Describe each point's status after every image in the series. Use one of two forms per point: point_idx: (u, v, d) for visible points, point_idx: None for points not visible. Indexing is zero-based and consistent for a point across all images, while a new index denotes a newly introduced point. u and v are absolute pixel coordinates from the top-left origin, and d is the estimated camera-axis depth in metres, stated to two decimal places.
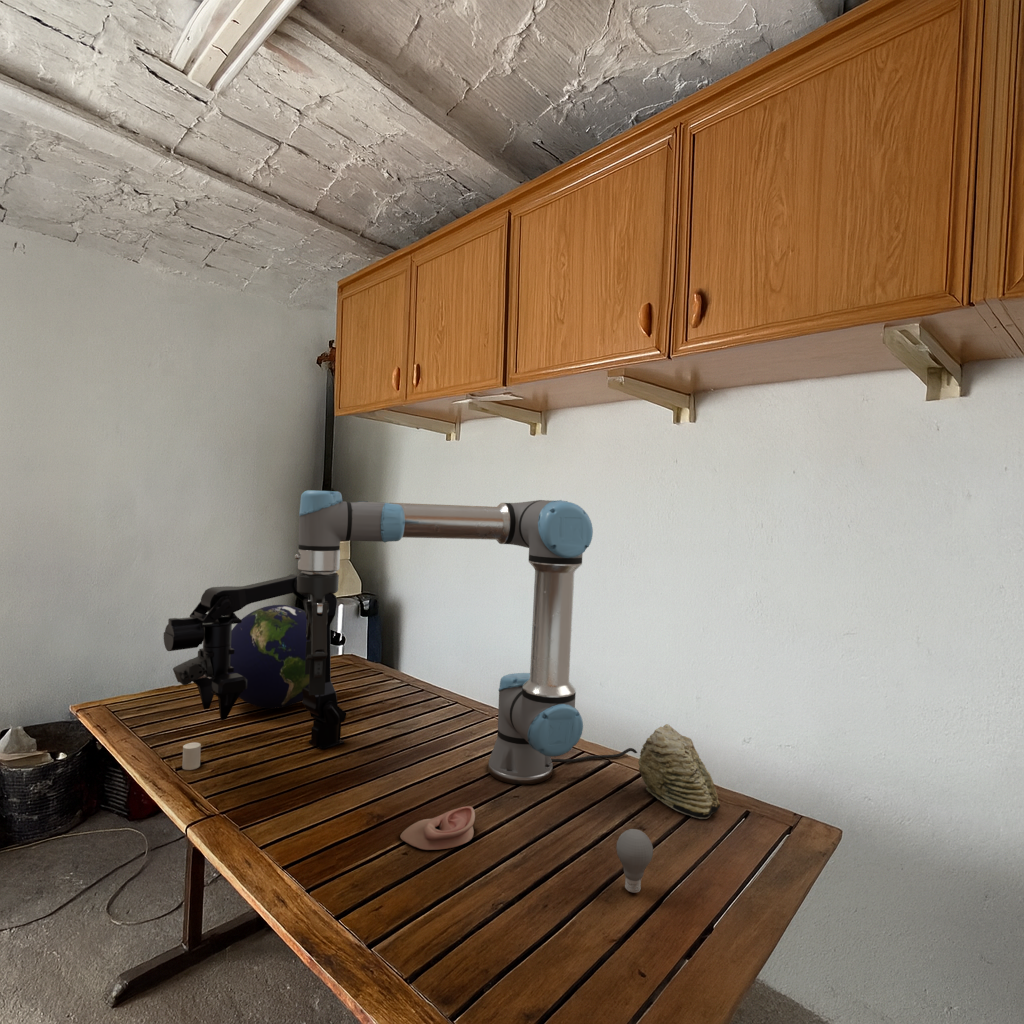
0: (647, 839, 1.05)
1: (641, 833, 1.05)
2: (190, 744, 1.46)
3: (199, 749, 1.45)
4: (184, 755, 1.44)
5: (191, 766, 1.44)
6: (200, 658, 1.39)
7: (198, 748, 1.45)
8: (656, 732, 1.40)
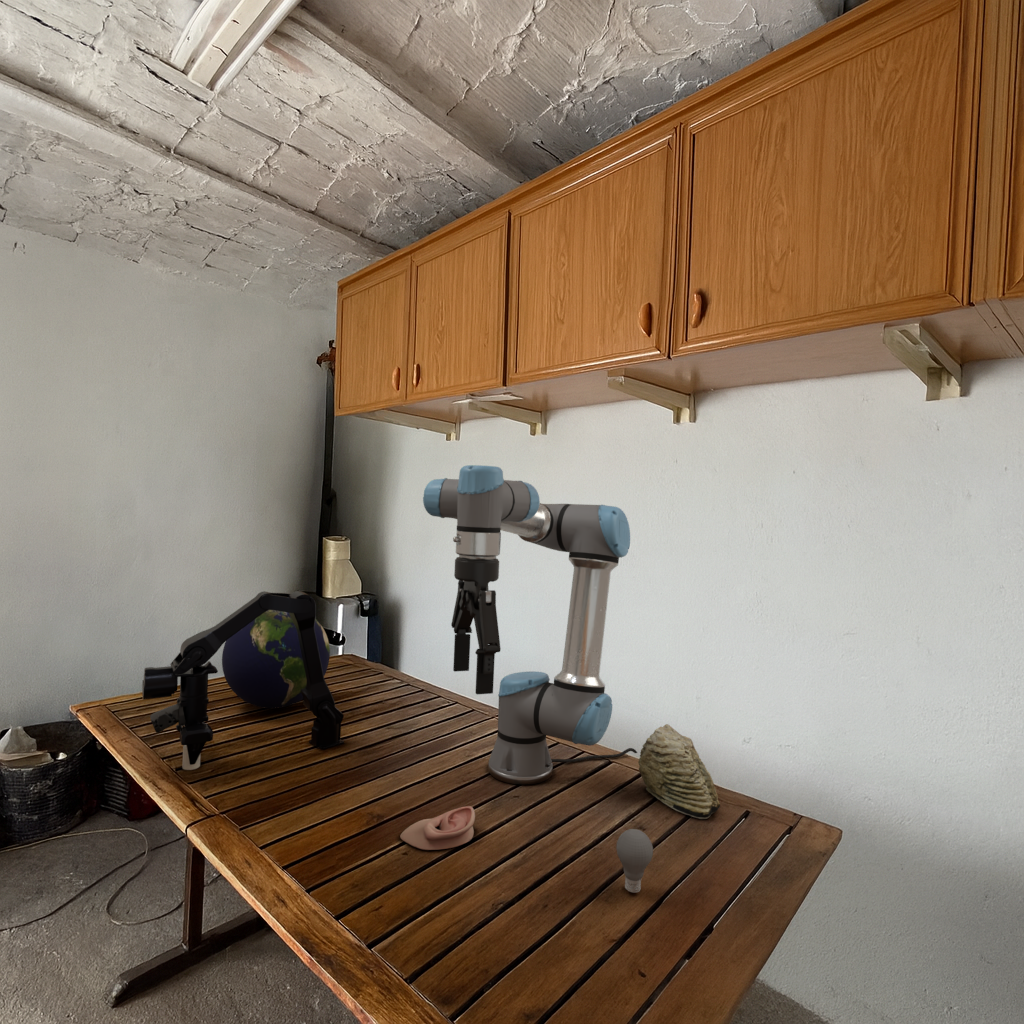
0: (647, 839, 1.05)
1: (641, 833, 1.05)
2: None
3: None
4: (184, 755, 1.44)
5: (191, 766, 1.44)
6: (176, 706, 1.43)
7: None
8: (656, 732, 1.40)
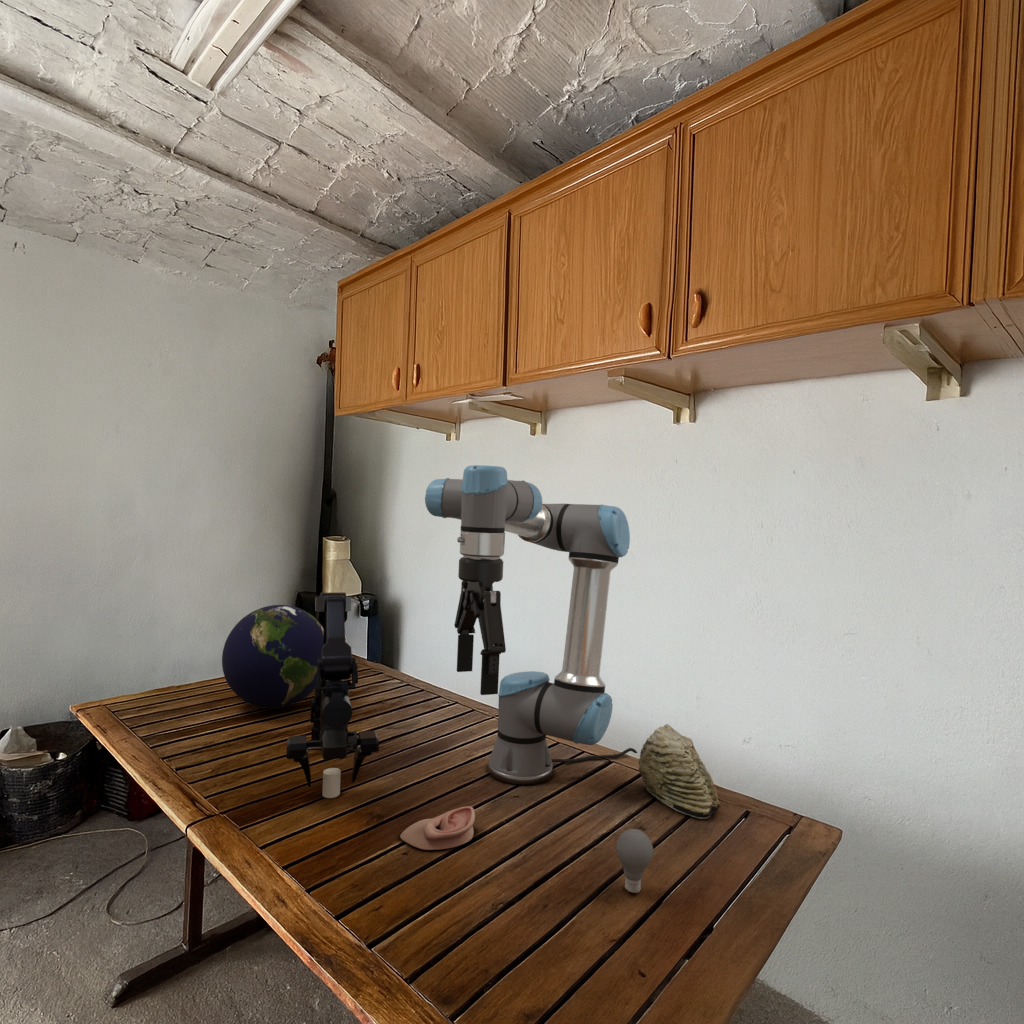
0: (647, 839, 1.05)
1: (641, 833, 1.05)
2: (328, 772, 1.35)
3: None
4: (336, 782, 1.34)
5: (339, 790, 1.36)
6: (334, 729, 1.32)
7: None
8: (656, 732, 1.40)
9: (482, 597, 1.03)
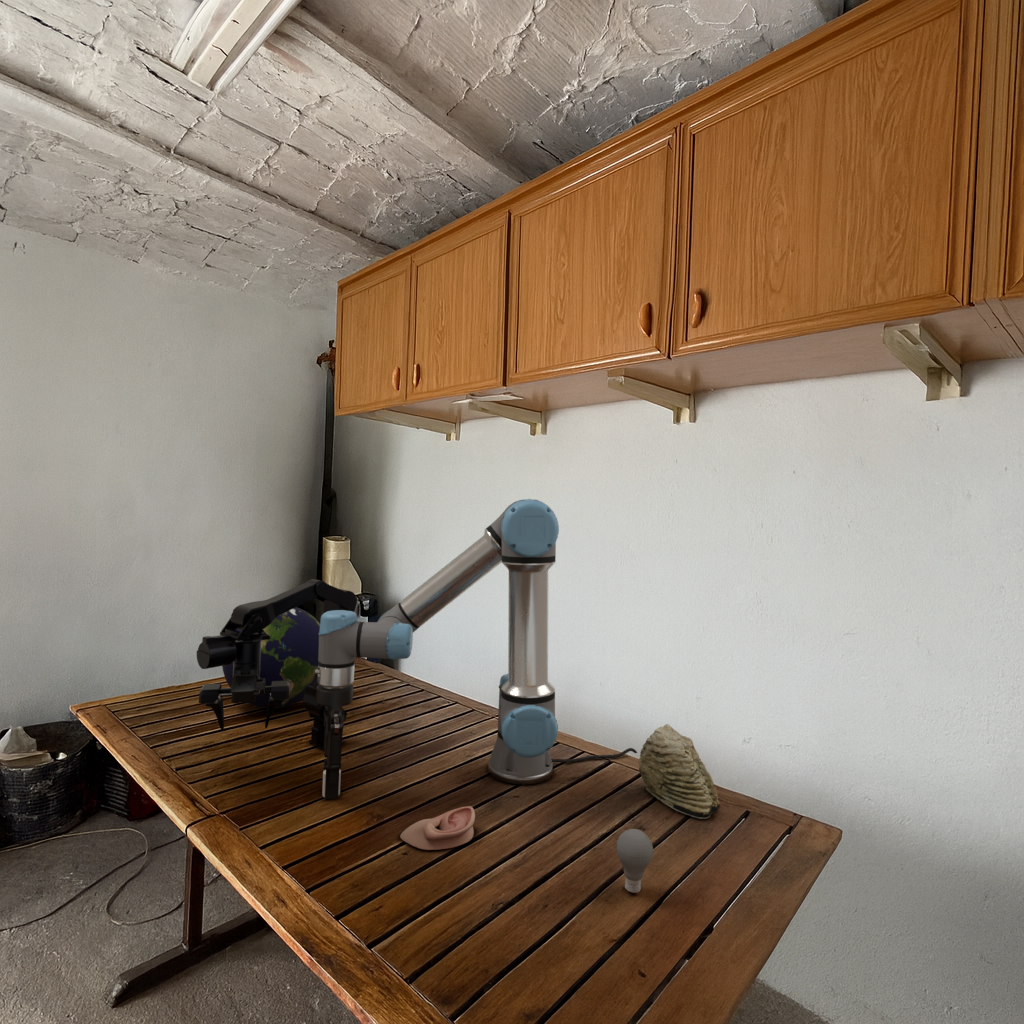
0: (647, 839, 1.05)
1: (641, 833, 1.05)
2: None
3: None
4: None
5: (339, 790, 1.35)
6: (245, 676, 1.41)
7: None
8: (656, 732, 1.40)
9: (331, 721, 1.31)
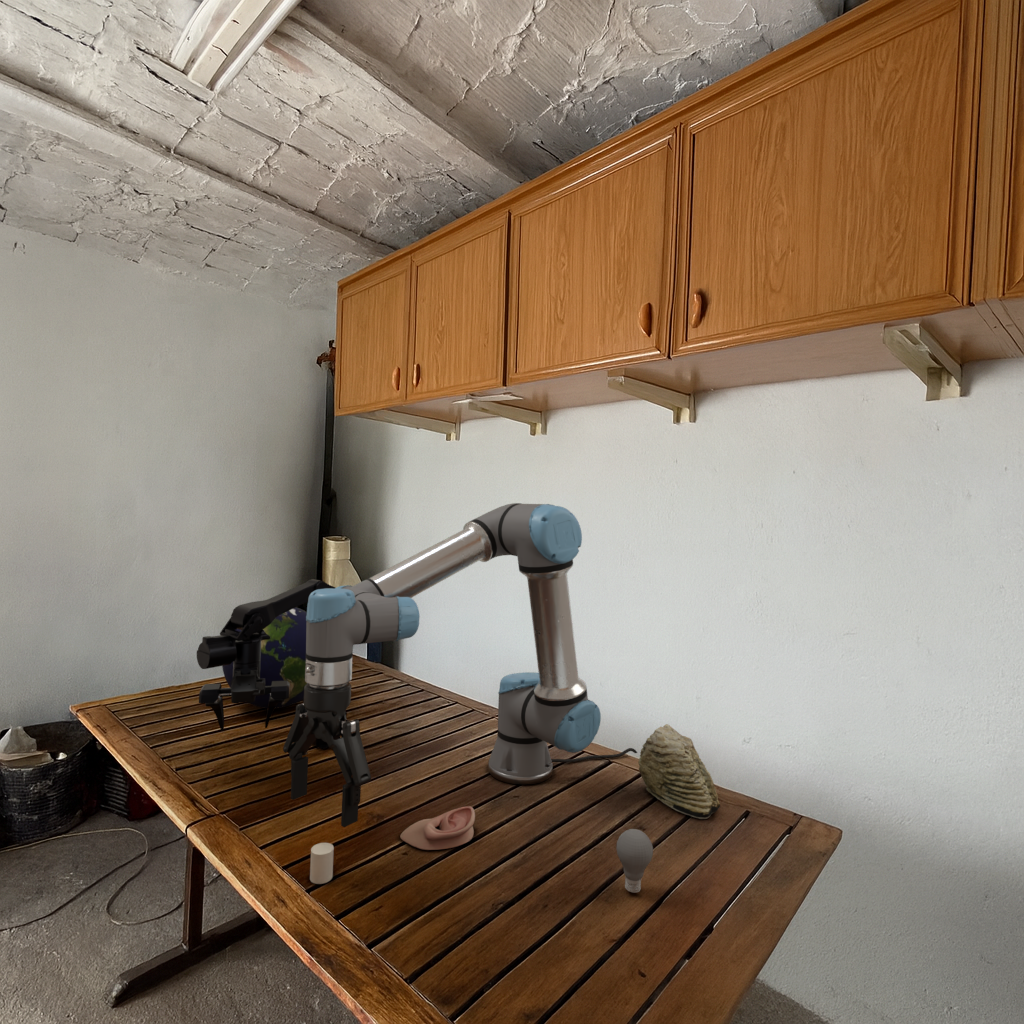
0: (647, 839, 1.05)
1: (641, 833, 1.05)
2: (319, 850, 1.05)
3: None
4: (331, 860, 1.05)
5: None
6: (245, 676, 1.41)
7: None
8: (656, 732, 1.40)
9: (337, 727, 1.02)
